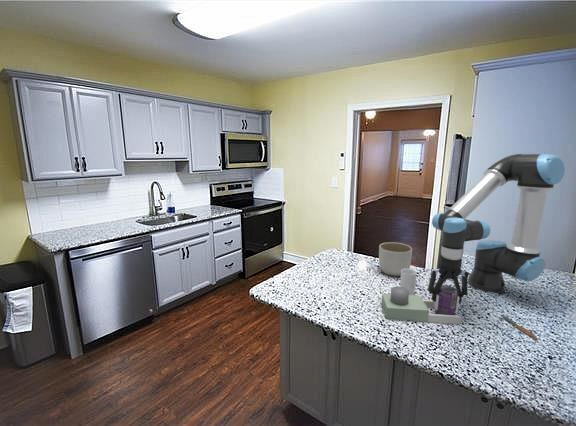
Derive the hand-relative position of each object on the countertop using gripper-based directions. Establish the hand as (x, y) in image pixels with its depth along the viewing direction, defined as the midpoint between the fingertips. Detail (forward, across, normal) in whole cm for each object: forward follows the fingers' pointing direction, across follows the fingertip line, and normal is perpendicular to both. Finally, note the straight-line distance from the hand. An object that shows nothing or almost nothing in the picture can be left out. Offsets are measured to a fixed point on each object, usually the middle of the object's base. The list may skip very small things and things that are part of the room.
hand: (445, 308), depth 118 cm
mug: (+3, +11, -17) cm, 21 cm away
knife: (+3, -24, +5) cm, 25 cm away
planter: (+3, +12, -41) cm, 43 cm away
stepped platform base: (+3, +10, 0) cm, 11 cm away
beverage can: (+3, 0, 0) cm, 3 cm away
